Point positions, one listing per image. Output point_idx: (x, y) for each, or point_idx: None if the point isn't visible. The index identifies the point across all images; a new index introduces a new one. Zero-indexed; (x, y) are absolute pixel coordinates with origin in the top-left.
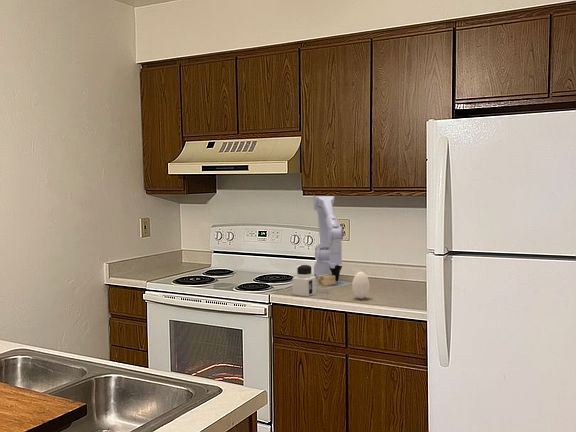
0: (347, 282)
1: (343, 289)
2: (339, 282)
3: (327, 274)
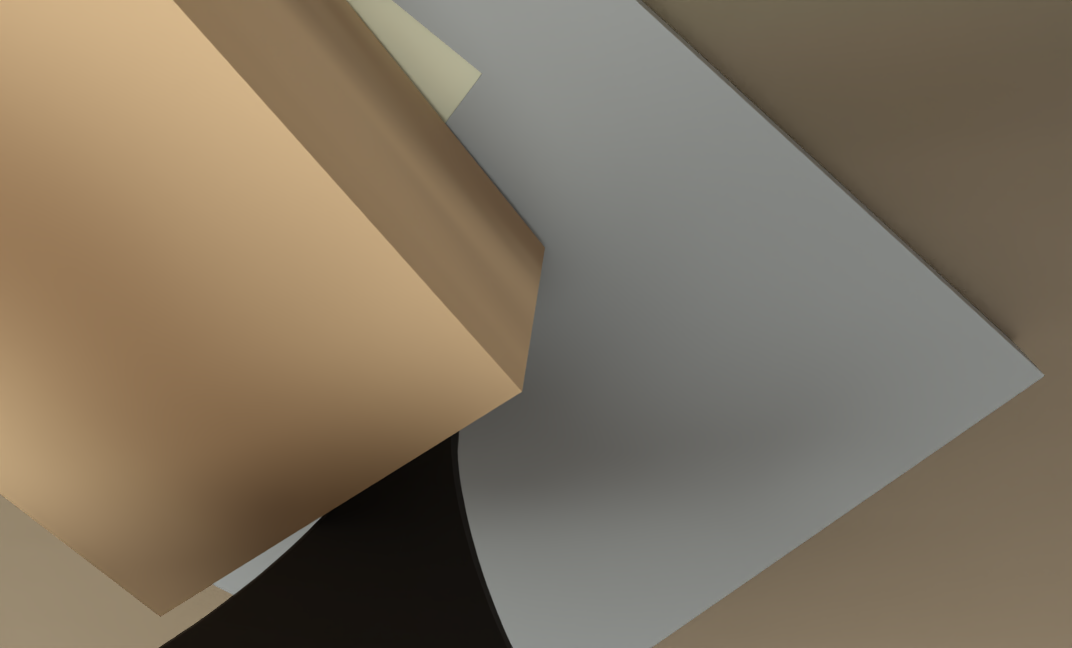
0: (596, 624)
1: (47, 537)
2: (578, 487)
3: (386, 353)
